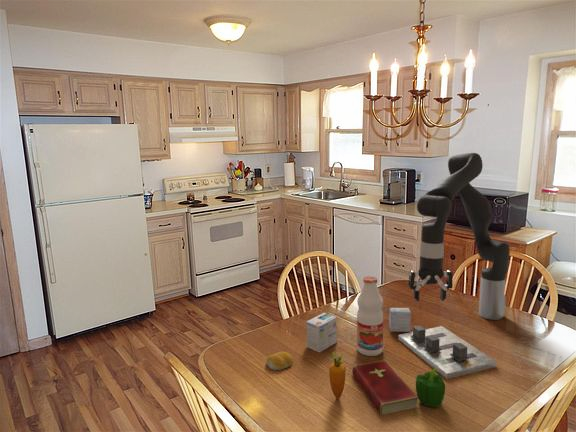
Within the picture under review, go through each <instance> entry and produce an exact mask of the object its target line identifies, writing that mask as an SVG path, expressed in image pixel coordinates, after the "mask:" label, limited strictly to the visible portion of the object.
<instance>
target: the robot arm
mask: <svg viewBox="0 0 576 432" xmlns="http://www.w3.org/2000/svg"><path fill="white" fill-rule="evenodd" d="M483 166H484V163H483V160H482V157H481V156H480V154H479V153H477V152H467V153H461V154H455V155H452V156H450V157H449V158H448V161H447V167H448V172H449V175H448V176H446V177H445V178H443V179H441V181H440V182H439V183H438V184H437V185H436V187H434V188H432V189H430V190H429V191H426V192H424V194H422V195H421V197H420V198H419V199H418V201H417V204H416V211H417V212H418V213H419V215H421V216H423V217H430V218H431V217H432V218H436V220H435V222H429V223H424V224H422V226H421V237H420V238H421V239H420V241H421V243H420V245H419V246H420V247H419V248H420V249H419V267H418V268H419V270H418V271H417V270H416V271H415V270H411V269H410V270H409V273H408V282H407V283H408V284H407V285H408V287H409V289H410V290H413V298H414V299H415V301H416V302H420V289H421V288H422V287H423V286H424V285H425V284H426V285H431V284H433V285H436V284H438V285H439V286H440V289H439V290H440V292H439V299H440V300H441V301H443V302H444V301H445V300H446V299H447V290H449V289H453V272H452V271H451V270H450V269H446V270H444V258H445V257H444V255H445V247H444V245H445V244H444V237H445V235H444V234H445V228H446V224H447V222H448V219H449V216H450V213H451V211H452V201H453V200H454V199H455V197H456V196H457V195H458V194H459V196H460V199H461V202H462V204H463V207H464V211H465V214H466V217H467V219H468V221H469V222H468V223H469V224H470V228H471V230H472V233H473V237H474V241H475V245H476V251H477V253H478V256H479V257H480V259H482V260H484V261H486V262H487V261H488V262H491V263H492V266H491V267H485V268H482V270H481V273H480V285H479V286H480V288H479V304H478V316H480V317H482V318H484V319H487V320H492V321H493V320H494V321H496V320H497V321H498V320H502V319H503V318H504V317H505V314H506V301H507V300H506V299H507V295H506V294H505V290H506V289H505V287H506V275H507V273H508V267H509V263H510V262H509V260H510V253H511V252H510V251H511V250H510V246H509V244H508V243H507V242H505V241H500V240H496V239H492V238H491V236H490V234H489V227H490V225H491V223H492V220H493V216H494V214H493V209H492V207H491V204H490V201H489V200H488V198H487V197H486V196H485V195H484V194H482V192H481V191H479V190H478V189H476V188H475V187H474V186H473V185H472V184H471V182H472V181H473V180H475V179H476V178H478V177H479V176H480V174H481V173H482V170H483ZM417 276H419V277H418V279H417V280H416V282H415V279H416V278H417ZM443 276H444V277H446V279H445V281H446V283H444V282H443V281H442V280H441V279H443Z"/></svg>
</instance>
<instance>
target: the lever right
mask: <svg viewBox="0 0 576 432" xmlns="http://www.w3.org/2000/svg"><path fill="white" fill-rule="evenodd" d="M412 332H413V335H411V338H413V339H414V340H415V341H417V342H419V341H424V340H426V337H425V332H426V328H424V327H423V326H421V325H415V326H412Z"/></svg>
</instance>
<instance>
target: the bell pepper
mask: <svg viewBox="0 0 576 432" xmlns="http://www.w3.org/2000/svg"><path fill="white" fill-rule="evenodd" d="M436 372H437V369H435V368H434V369H433V368H432V369H431V371H426V372H424V373H423V374H417V376H416V379H415V393H416V395H417V396H418V397H419V399H418V400H419V402H420V403H421V404H422V405H424V406H428V407H430V408H432V409H434V408H438V407H440V406H441V404H442V403H443V401H444V398H445V394H446V384H445V381H444V380H443V376H442V375H441V374H437V373H436Z"/></svg>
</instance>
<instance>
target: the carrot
mask: <svg viewBox="0 0 576 432" xmlns="http://www.w3.org/2000/svg"><path fill="white" fill-rule="evenodd" d="M331 355H332V357H333V363H331V364H330V366H329V368H328V370H329V371H328V372H329V373H328V374H329V376H328V377H329V383H330V388H331V391H332V394H333V396H334V397H335V398H336V400H339V399H340V398H341V396H342V395H343V393H344V389H345V383H346V372H347V371H346V366H345V365H344V364H343V363H344V362H343V361H342V359H343V354H342V353H341V354H339V355H338V356H337V357H336V353H335V352H332V353H331Z"/></svg>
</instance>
